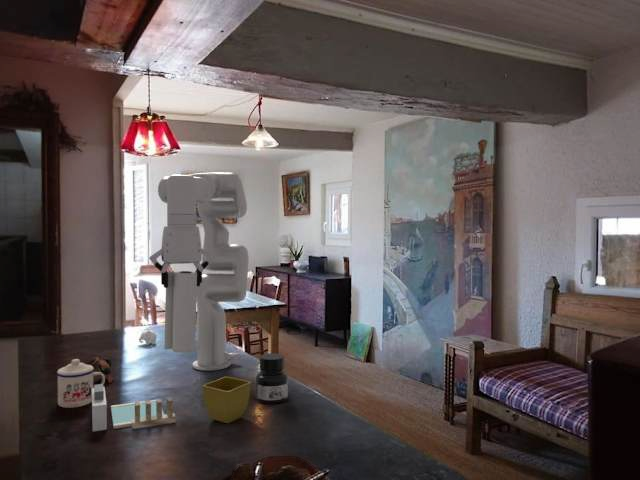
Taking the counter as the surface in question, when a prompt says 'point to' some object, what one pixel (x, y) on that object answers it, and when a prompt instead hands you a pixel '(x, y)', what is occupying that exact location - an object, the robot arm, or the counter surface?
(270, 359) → the ink bottle
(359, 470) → the counter surface
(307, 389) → the counter surface
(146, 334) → the elephant figurine
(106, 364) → the pottery mug
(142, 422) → the cable comb
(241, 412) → the flower pot
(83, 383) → the teacup with lid
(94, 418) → the block
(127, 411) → the pad
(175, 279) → the paper towel roll
